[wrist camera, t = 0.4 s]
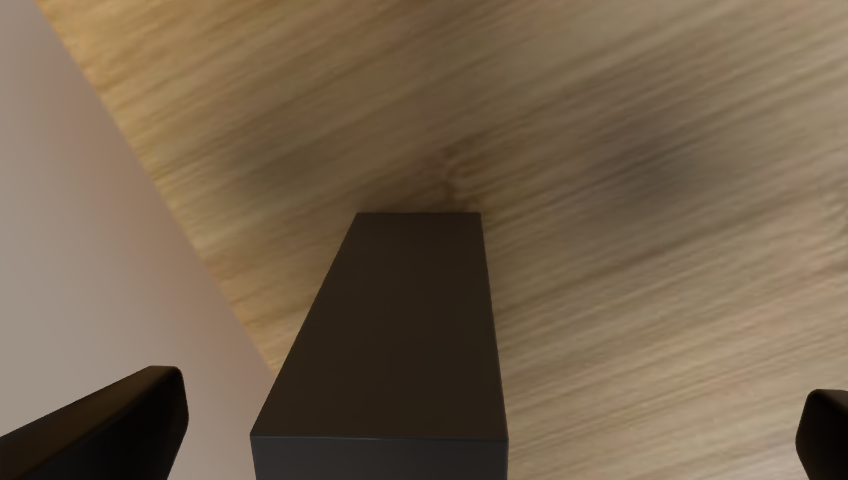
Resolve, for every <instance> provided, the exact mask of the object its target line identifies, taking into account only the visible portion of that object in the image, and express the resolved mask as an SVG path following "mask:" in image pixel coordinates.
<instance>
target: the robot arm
mask: <svg viewBox="0 0 848 480" xmlns="http://www.w3.org/2000/svg"><path fill="white" fill-rule="evenodd" d="M188 421H189V413H188V405H187V400H186V393H185V387H184V380H183V376H182V373H181V371H180V369H178V368H177V367H175V366H149V367H147V368H144V369H142V370H140V371H138V372H136V373H134V374H132V375H130V376H127V377H125V378H123V379H121V380H119V381H117V382H115V383H113V384H111V385H109V386H106V387H104V388H103V389H100V390H98V391H96V392H94V393H92V394H90V395H88V396H85V397H84V398H81V399H79V400H77V401H75V402H73V403H71V404H69V405H67V406H65V407H62V408H60V409H58V410H56V411H54V412H52V413H50V414H48V415H46V416H44V417H41V418H39V419H37V420H35V421H33V422H31V423H29V424H27V425H25V426H23V427H20V428H18V429H16V430H14V431H12V432H10V433H8V434H6V435H4V436H2V437H0V480H167V478H168V476H169V473H170V471H171V468H172V466H173V463H174V461H175V458H176V456H177V453H178V450H179V448H180V445H181V443H182V440H183V438H184V435H185V433H186V430H187V426H188ZM795 444H796V450H797V454H798V456H799V459H800V461H801V463H802V465H803V467H804V469H805V471H806V474H807V476H808V478H809V480H848V391H844V390H831V389H816V390H813V391H812V392H810V394H809V395H808V396H807V399H806V402H805V406H804V409H803V413H802V416H801V420H800V423H799V427H798V430H797V434H796V442H795Z"/></svg>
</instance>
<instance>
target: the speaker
mask: <svg viewBox="0 0 848 480" xmlns="http://www.w3.org/2000/svg"><path fill="white" fill-rule="evenodd" d="M250 441H251V448H252V454H253V460H254V468H255V474H256V480H507V471H508V449H509V437H508V429H507V421H506V413H505V405H504V397H503V389H502V381H501V373H500V365H499V357H498V349H497V341H496V333H495V325H494V317H493V309H492V301H491V293H490V285H489V277H488V269H487V261H486V253H485V245H484V237H483V229H482V221H481V214H480V213H356V216H355V218H354V220H353V222H352V224H351V226H350V228H349V230H348V232H347V234H346V236H345V238H344V240H343V242H342V244H341V246H340V249H339V251H338V253H337V255H336V257H335V259H334V261H333V263H332V265H331V267H330V269H329V271H328V273H327V275H326V277H325V279H324V282H323V284H322V286H321V288H320V290H319V292H318V294H317V296H316V298H315V300H314V302H313V304H312V306H311V308H310V310H309V312H308V315H307V317H306V319H305V321H304V323H303V325H302V327H301V329H300V331H299V333H298V335H297V337H296V339H295V341H294V343H293V345H292V347H291V350H290V352H289V354H288V356H287V358H286V360H285V362H284V364H283V366H282V368H281V370H280V372H279V374H278V376H277V378H276V380H275V383H274V385H273V387H272V389H271V391H270V393H269V395H268V397H267V399H266V401H265V403H264V405H263V407H262V409H261V411H260V413H259V416H258V418H257V420H256V422H255V424H254V426H253V428H252V430H251V432H250Z"/></svg>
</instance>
